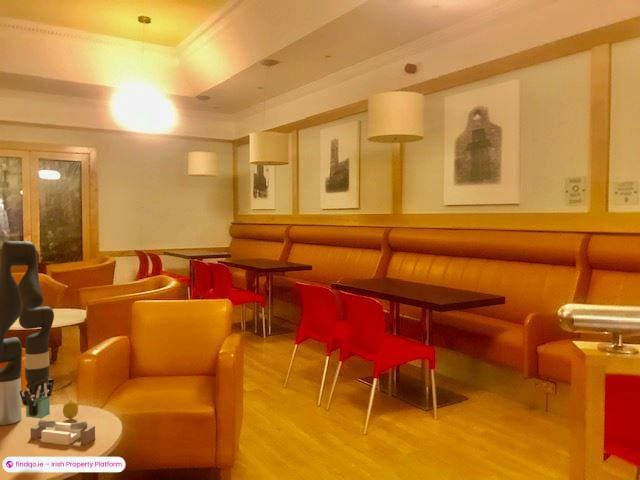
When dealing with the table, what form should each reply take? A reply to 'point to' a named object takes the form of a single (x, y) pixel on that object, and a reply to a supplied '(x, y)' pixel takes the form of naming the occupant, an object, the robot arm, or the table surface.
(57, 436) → the shaft rig
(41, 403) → the green rectangular block
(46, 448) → the table surface
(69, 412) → the lemon
